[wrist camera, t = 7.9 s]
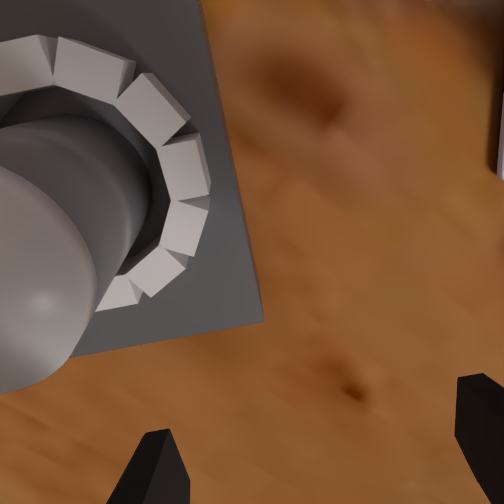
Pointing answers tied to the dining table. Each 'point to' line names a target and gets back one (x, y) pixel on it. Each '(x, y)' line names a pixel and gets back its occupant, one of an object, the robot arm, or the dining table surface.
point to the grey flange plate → (144, 154)
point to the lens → (61, 235)
